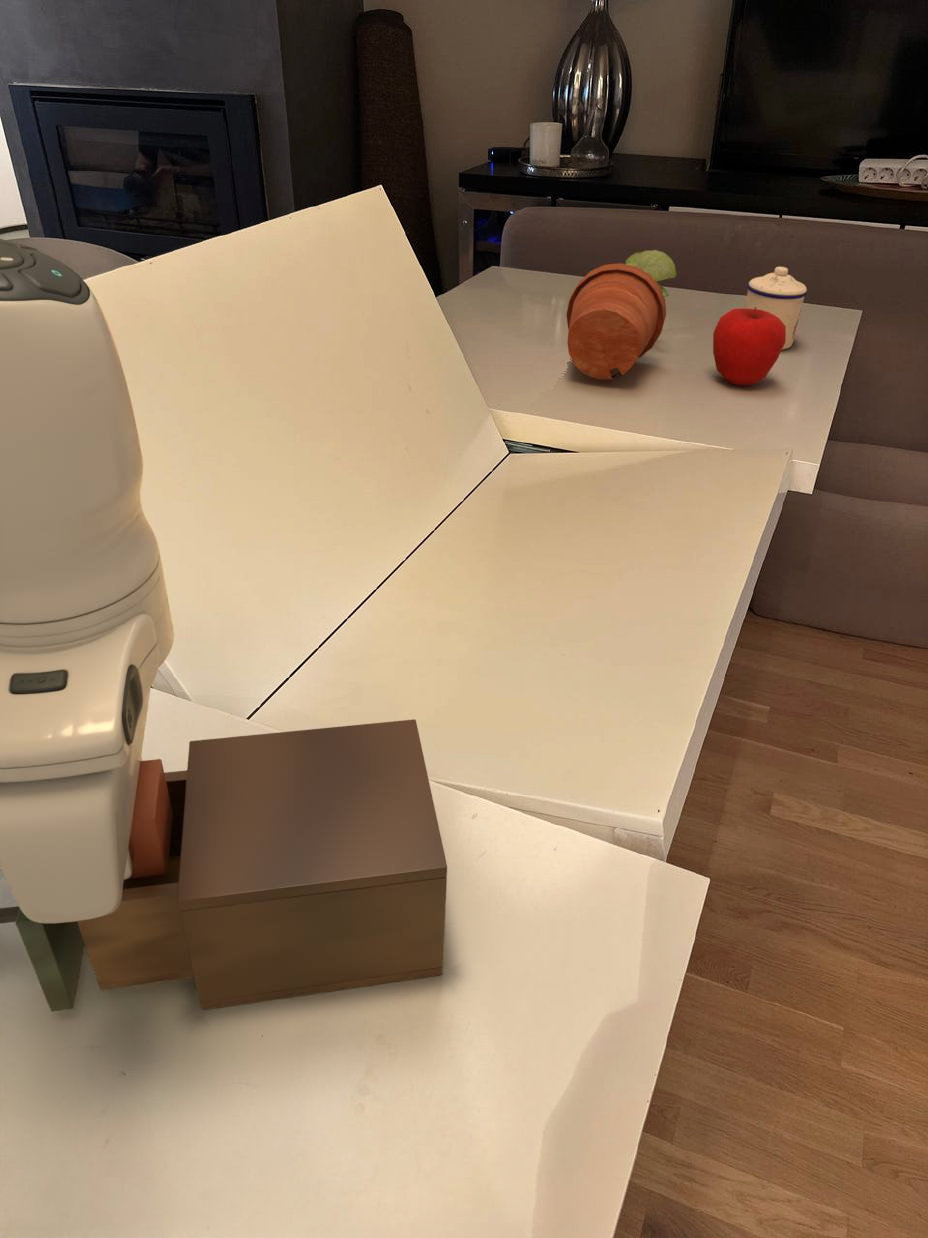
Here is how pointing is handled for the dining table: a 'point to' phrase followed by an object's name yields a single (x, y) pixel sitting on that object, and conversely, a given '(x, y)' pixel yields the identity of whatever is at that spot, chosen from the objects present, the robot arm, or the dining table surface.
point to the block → (151, 821)
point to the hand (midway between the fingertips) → (122, 827)
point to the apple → (747, 345)
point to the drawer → (116, 931)
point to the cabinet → (310, 863)
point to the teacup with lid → (778, 299)
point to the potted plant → (618, 313)
